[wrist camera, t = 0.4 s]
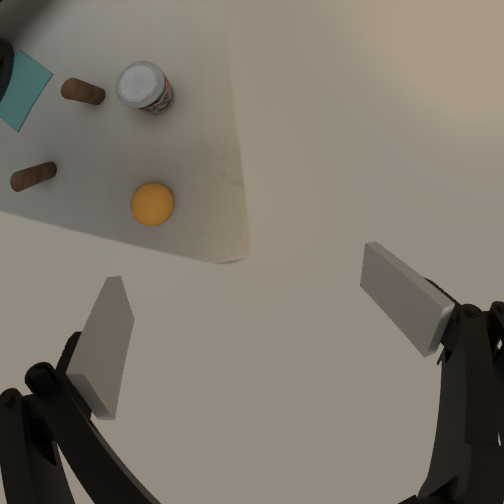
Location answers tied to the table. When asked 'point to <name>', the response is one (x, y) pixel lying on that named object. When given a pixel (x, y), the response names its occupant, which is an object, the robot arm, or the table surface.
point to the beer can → (145, 88)
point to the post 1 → (32, 176)
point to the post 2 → (82, 91)
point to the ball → (152, 204)
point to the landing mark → (23, 89)
